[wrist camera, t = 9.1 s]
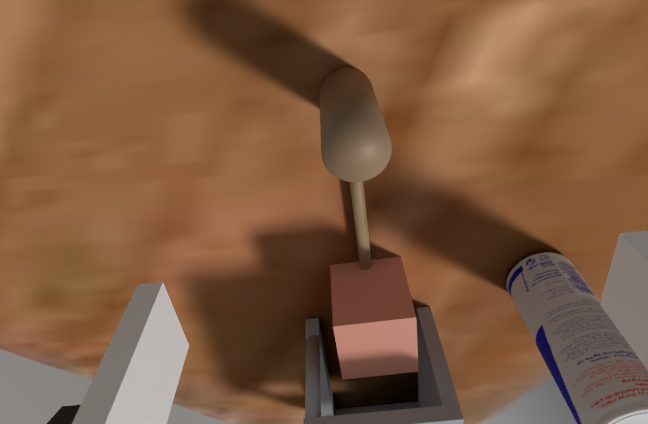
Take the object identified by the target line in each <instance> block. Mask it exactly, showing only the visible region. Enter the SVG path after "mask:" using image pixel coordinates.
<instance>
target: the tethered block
mask: <svg viewBox="0 0 648 424" xmlns="http://www.w3.org/2000/svg"><path fill="white" fill-rule="evenodd" d="M319 96H320V125H321V152H322V159H323V162H324V164H325V166H326V168H327V169H328V171H329V172H330V173H331V174H333V175H334V176H335V177H337V178H339V179H341V180H344V181H348V182H350V190H351V198H352V206H353V214H354V222H355V230H356V239H357V247H358V255H359V261H358V262H350V263H342V264H333V265H330V276H331V297H332V317H333V330H334V335H335V341H336V346H337V352H338V357H339V363H340V368H341V374H342V379H343V380H344V379H354V378H363V377H373V376H382V375H392V374H401V373H410V372H419V369H418V345H417V321H416V314H415V310H414V306H413V302H412V298H411V295H410V291H409V287H408V283H407V279H406V275H405V271H404V267H403V263H402V260H401V256H400V257H391V258H383V259H375V260H371V251H370V242H369V233H368V223H367V214H366V204H365V195H364V185H363V181H366V180H369V179H372V178H373V177H375V176H377V175H378V174H379V173H381V172H382V171H383V170H384V168H385V167H386V166H387V164H388V162H389V160H390V157H391V152H392V145H391V140H390V137H389V134H388V131H387V129H386V126H385V123H384V120H383V117H382V114H381V111H380V108H379V105H378V102H377V100H376V97H375V94H374V91H373V88H372V85H371V83H370V80H369V79H368V77H367V76H366V75H365V74H364V73H362V72H361V71H359V70H357V69H354V68H349V67H345V68H339V69H336V70H334V71H332V72H331V73H330V74H329V75H327V76H326V78H325V79H324V80H323V82H322V84H321V87H320V93H319Z"/></svg>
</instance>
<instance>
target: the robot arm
mask: <svg viewBox="0 0 648 424" xmlns="http://www.w3.org/2000/svg"><path fill="white" fill-rule="evenodd" d="M600 305H601V307H602V308H603V310H604V311H605V312H606V314H607V315H608V316H609V318H610V319H611V321H612V322H613V323H614V325H615V326H616V327H617V329H618V330H619V331H620V333H621V334H622V336H623V337H624V338H625V340H626V341H627V342H628V344H629V345H630V347H631V348H632V349H633V351H634V352H635V353H636V355H637V356H638V357H639V359H640V360H641V362H642V363H643V364H644V366H645V367H646V368H647V370H648V230H647V231H637V232H628V233H620V234H619V238H618V241H617V245H616V249H615V252H614V256H613V259H612V263H611V267H610V270H609V274H608V277H607V281H606V284H605V288H604V292H603V295H602V299H601V302H600ZM188 347H189V344H188V342H187V339H186V337H185V335H184V332H183V330H182V327H181V325H180V322H179V320H178V318H177V315H176V313H175V310H174V308H173V306H172V303H171V301H170V298H169V296H168V293H167V291H166V289H165V286H164V284H163V282H160V283H151V284H141V285H137V287H136V289H135V291H134V293H133V296H132V298H131V300H130V302H129V304H128V306H127V308H126V310H125V312H124V315H123V317H122V319H121V321H120V323H119V325H118V327H117V329H116V331H115V334H114V336H113V338H112V340H111V342H110V344H109V346H108V348H107V350H106V353H105V355H104V357H103V359H102V361H101V363H100V365H99V367H98V369H97V372H96V374H95V376H94V378H93V380H92V382H91V384H90V387H89V388H88V391H87V393H86V395H85V397H84V399H83V401H82V403H81V405H74V406H63V407H61V409H60V410H59V411H58V412H57V413H56V414H55V415H54V416H53V417H52V418H51V420H50V421H49V422H48V423H47V424H167V420H168V417H169V413H170V409H171V406H172V403H173V399H174V396H175V392H176V389H177V385H178V382H179V378H180V375H181V372H182V368H183V365H184V361H185V358H186V354H187V351H188Z"/></svg>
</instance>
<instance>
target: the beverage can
mask: <svg viewBox="0 0 648 424" xmlns="http://www.w3.org/2000/svg"><path fill="white" fill-rule="evenodd" d="M506 285H507V290H508V292H509V293H510V295H511V297H512V299H513V301H514V303H515V305H516V307H517V309H518V311H519V313H520V314H521V316H522V318H523V320H524V322H525V324H526V326H527V328H528V330H529V332H530V334H531V336H532V337H533V339H534V341H535V343H536V345H537V347H538V349H539V351H540V353H541V355H542V357H543V359H544V360H545V362H546V364H547V366H548V368H549V370H550V372H551V374H552V376H553V378H554V379H555V382H556V383H557V385H558V387H559V389H560V391H561V393H562V395H563V397H564V399H565V401H566V403H567V405H568V406H569V408H570V410H571V412H572V414H573V416H574V418H575V420H576V422H577V424H648V370H647V368H646V367H645V366H644V364H643V363H642V362H641V360H640V359H639V357H638V356H637V355H636V353H635V352H634V351H633V349H632V348H631V347H630V345H629V344H628V342H627V341H626V340H625V338H624V337H623V336H622V334H621V333H620V331H619V330H618V329H617V327H616V326H615V325H614V323H613V322H612V321H611V319H610V318H609V316H608V315H607V314H606V312H605V311H604V310H603V308H602V307H601V305H600V301H599V299H598V298H597V297H596V295H595V294H594V293H593V291H592V290H591V289H590V287H589V286H588V285H587V283H586V282H585V281H584V279H583V278H582V277H581V275H580V274H579V273H578V271H577V270H576V269H575V267H574V266H573V265H572V263H571V262H570V261H569V260H568V259H567V258H566V257H565V256H563V255H561V254H557V253H551V252H547V253H538V254H535V255H532V256H529V257H527V258H525V259H523V260H522V261H520V262H519V263H518V264H516V265H515V267H514V268H513V269H512V270H511V272H510V273H509V275H508V278H507V283H506Z"/></svg>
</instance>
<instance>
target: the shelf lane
mask: <svg viewBox="0 0 648 424" xmlns="http://www.w3.org/2000/svg"><path fill="white" fill-rule="evenodd" d="M305 337H306V383H305V418H304V424H463V422H464V419H463V415H462V412H461V409H460V405H459V402H458V399H457V395H456V392H455V389H454V385H453V382H452V379H451V375H450V372H449V369H448V365H447V362H446V359H445V355H444V352H443V349H442V345H441V342H440V339H439V335H438V332H437V329H436V325H435V322H434V319H433V315H432V312H431V309H430V306H428V307H419V308H417V345H418V369H419V372H418V402H408V403H398V404H387V405H376V406H365V407H355V408H344V409H335V407H334V401H333V396H332V390H331V385H330V379H329V373H328V368H327V362H326V357H325V351H324V346H323V340H322V334H321V329H320V323H319V318H312V319H306V325H305ZM321 414H322V417H321Z"/></svg>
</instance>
